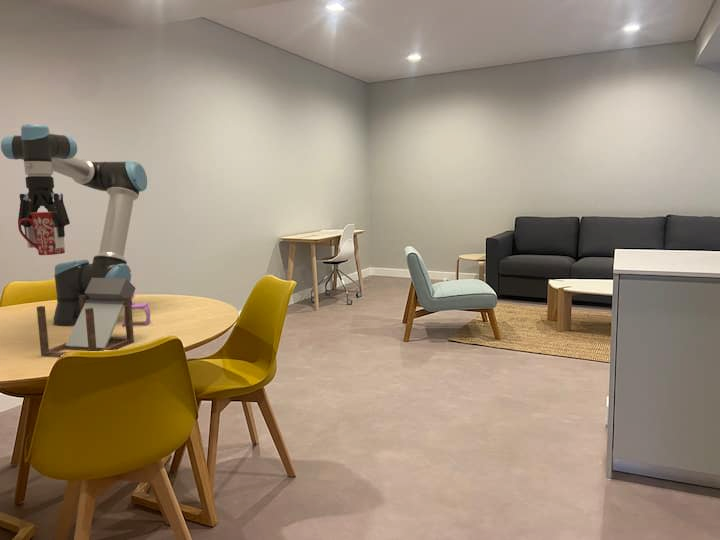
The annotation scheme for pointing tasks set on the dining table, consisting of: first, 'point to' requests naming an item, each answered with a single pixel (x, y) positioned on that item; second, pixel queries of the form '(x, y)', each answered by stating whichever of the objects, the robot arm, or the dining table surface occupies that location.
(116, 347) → the frame
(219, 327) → the dining table surface
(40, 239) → the mug
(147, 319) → the purple tall handled piece
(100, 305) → the trapdoor
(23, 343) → the dining table surface
